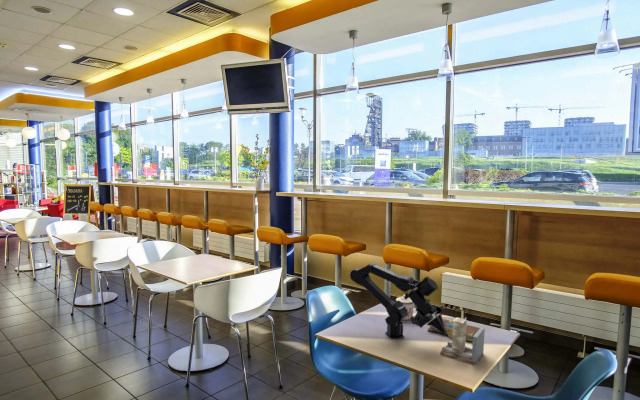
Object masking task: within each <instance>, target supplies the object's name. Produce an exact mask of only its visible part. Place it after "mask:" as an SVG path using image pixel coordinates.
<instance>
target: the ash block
mask: <svg viewBox="0 0 640 400" xmlns="http://www.w3.org/2000/svg"><path fill="white" fill-rule="evenodd" d="M452 320H453V332H452V338H451V342H452V349H453V350H457V351H460V352H464V351H465V346H466V341H467V340H466V323H467V319H465V318H461V317H455V318H454V319H452Z"/></svg>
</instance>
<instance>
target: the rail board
mask: <svg viewBox="0 0 640 400" xmlns="http://www.w3.org/2000/svg"><path fill="white" fill-rule="evenodd" d="M439 353H440V355H441V356H444V357H448V358H451V359H454V360H457V361H461V362H465V363H468V364H471V365H477V363H478V362H479V361H480V359H481V358H482V356H483V355H484V352H483V353H482V354H481V356H480V357H479V358H478V360H477V361H476V362H473V361H472V346H471V347H470V346H467V345H465V351H464V352H460V351H457V350H453V349H452V341H447V344H446V346H442V349H441V351H440V352H439Z"/></svg>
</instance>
